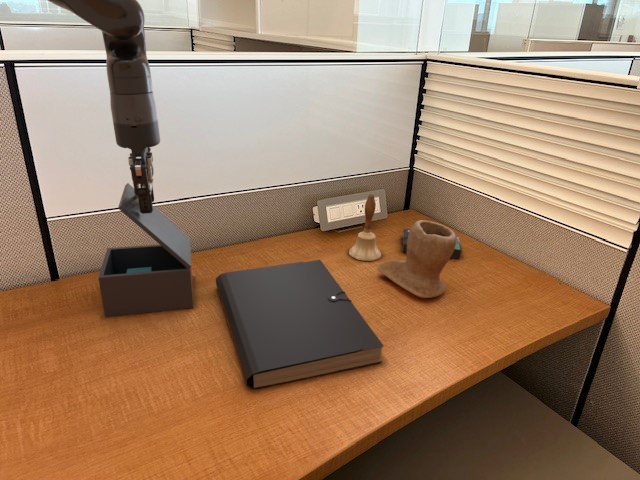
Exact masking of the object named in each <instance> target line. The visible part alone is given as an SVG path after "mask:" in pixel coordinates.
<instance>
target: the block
mask: <svg viewBox="0 0 640 480" xmlns="http://www.w3.org/2000/svg"><path fill="white" fill-rule="evenodd" d="M151 271H152V267H144V268H132V269H127V273H138V272H151Z"/></svg>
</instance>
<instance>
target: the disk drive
mask: <svg viewBox="0 0 640 480" xmlns="http://www.w3.org/2000/svg"><path fill="white" fill-rule="evenodd" d="M402 231H403V232H402V252H403V253H406V254H407V240H408V234H409V231H410V228H403V230H402ZM455 235H456V246H455V249H454V251H453V253H452V255H451V257H450V258H453V259H455V258H456V259H457V258H458V259H461V257H462V251H463V250H462V249H463V248H462V245H461V244H462V243H461V241H460V238H459V234H455Z"/></svg>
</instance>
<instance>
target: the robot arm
mask: <svg viewBox="0 0 640 480" xmlns="http://www.w3.org/2000/svg"><path fill="white" fill-rule="evenodd" d="M47 1H48V2H50V3H51V4H53V5H55V6H57V7H59V8H62V9H64V10H66V11H69V12H71V13H73V14H74V15H75V16H76V17H78V18H80V19H81V20H83V21H85V22H86V23H88V24H90V25H91V26H93V27H95V28H96V29H97V30H99V31H100V32H102V33H101V34H102V40H103V44H104V49H105V54H106V63H105V65H106V66H105V67H106V76H107V84H108V90H109V96H110V97H109V98H110V100H109V101H110V103H109V105H110V112H111V118H112V124H113V130H114V131H113V132H114V136H115V142H116V145H117V146H118V147H120V148H122V149H128V150H131V152H130V153H129V156H128V157H127V158H128V166H129V170H130V175H131V181H132V184H133V188H134V193H135V195H138V200H139V207H140V212H141V213H142V214H145V213H152V211H153V207H152V205H153V203H154V202H155V194H154V185H153V184H154V183H153V182H154V177H153V176H154V163H153V162H154V153H153V152H151V150H152V149H151V148H153V147H156V146H158V145H159V144H160V143H161V136H160V135H161V134H160V128H159V127H160V126H159V119H158V118H159V117H158V110H157V109H158V108H157V102H156V99H155V94H154V90H153V89H154V88H153V80H152V74H151V73H152V72H151V68H150V63H149V60H148V56H147V46H146V34H145V33H146V32H145V19H146V18H145V13H144V10H143V7H142V6H141V4H140V3H139V1H138V0H47ZM150 183H151V184H152V192H151V188H150ZM143 184H145V186H146V188H142V185H143Z"/></svg>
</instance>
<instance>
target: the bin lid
mask: <svg viewBox="0 0 640 480" xmlns="http://www.w3.org/2000/svg"><path fill="white" fill-rule="evenodd" d="M152 185H153V183H152V184H151V183H150V188H151V192H152ZM142 188H146V186H145V184H143V185H142ZM152 207H153V211H152V213H145V214H142V213H141V212H140V207H139V200H138V195H135V193H134V186H132V185H131V184H130V183H129V182H127V183H126V184H125V185H124V188H123V192H122V194H121V197H120V201H119V204H118V207H117V209H118V210H119V211H120V212H121V213H123V214H124V215H125V216H126V217H127V218H128V219H130V220H131V221H132V222H133V223H134V224H135V225H136V226H138V227H139V228H140V229H141V230H143V232H145V234H147V235H148V236H149V237H150V238H151V239H153V240H154V241H155V242H156V243H157V244H158V245H161V246H162V247H163V248H165V249H166V250H167V251H168V252H169V253H170V254H172V255H173V256H174V257H175V258H176V259H177V260H179V261H180V262H181V263H182V264H183V265H184V266H185V267H187V268H188V269H189V268H190V267H191V268H192V248H191V247H192V245H191V238H189V237H188V236H187V235H186V234H185V233H184V232H183V231H182V230H181V229H180V228H178V226H176V225H175V224H174V223H173V222H172V221H171V220H170V219H168V217H166V216H165V215H164V214H163V213H162V212H161V211H160V210H159V209H157V207H155V206H154V205H153V204H152Z"/></svg>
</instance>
